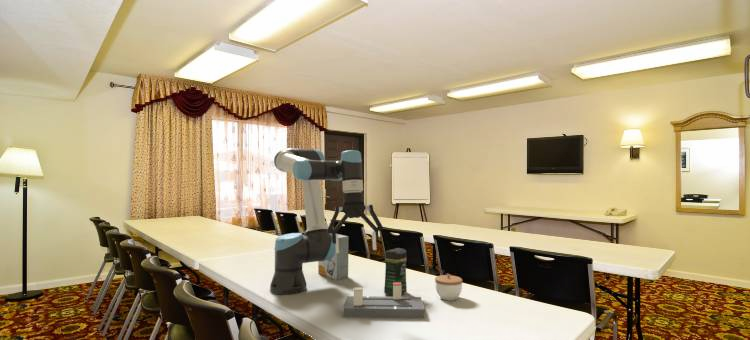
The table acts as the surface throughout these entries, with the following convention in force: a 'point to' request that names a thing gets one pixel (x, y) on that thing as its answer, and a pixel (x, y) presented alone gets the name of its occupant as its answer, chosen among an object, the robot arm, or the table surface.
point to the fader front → (358, 296)
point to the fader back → (396, 290)
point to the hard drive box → (336, 261)
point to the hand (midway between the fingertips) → (356, 251)
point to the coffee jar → (395, 270)
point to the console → (385, 307)
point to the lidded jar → (448, 286)
